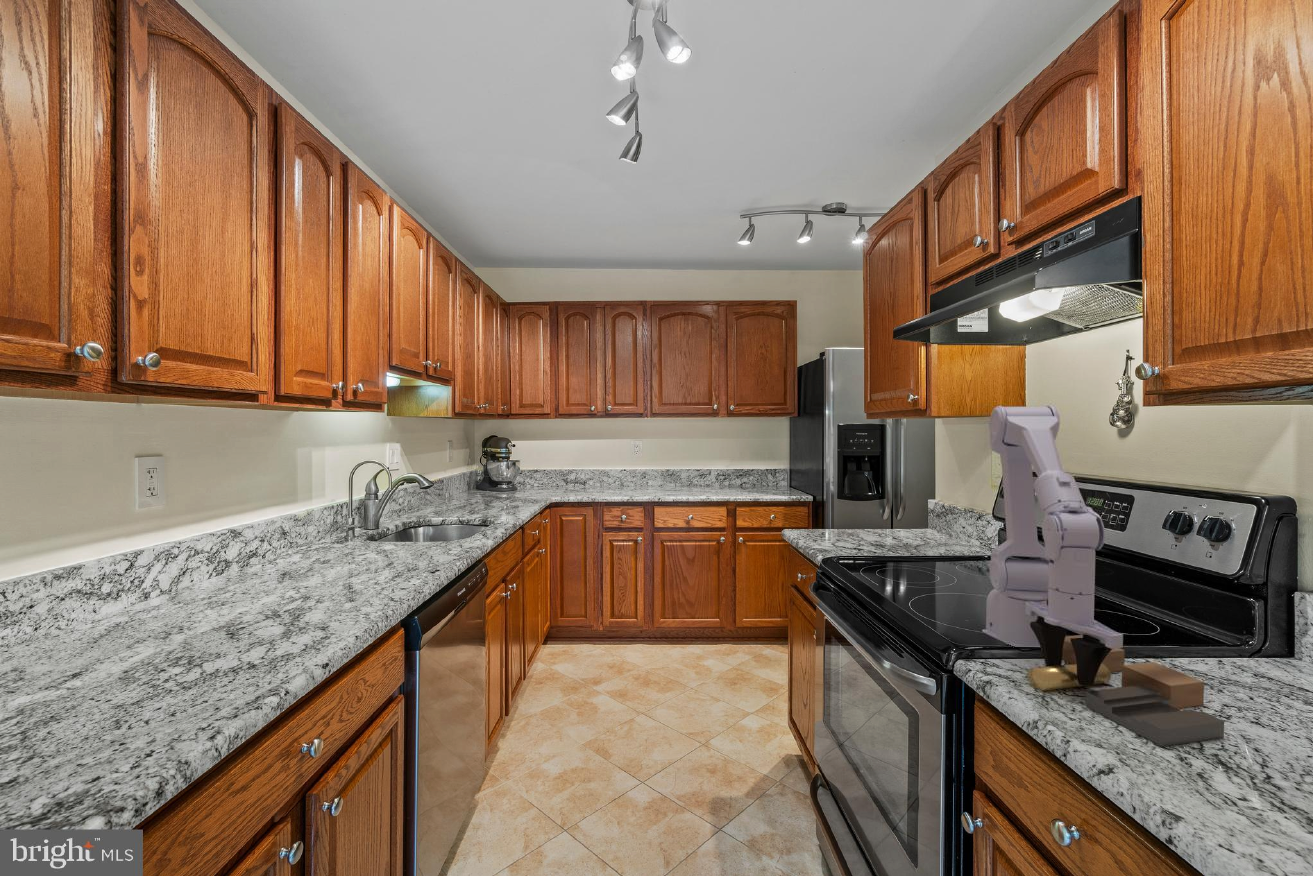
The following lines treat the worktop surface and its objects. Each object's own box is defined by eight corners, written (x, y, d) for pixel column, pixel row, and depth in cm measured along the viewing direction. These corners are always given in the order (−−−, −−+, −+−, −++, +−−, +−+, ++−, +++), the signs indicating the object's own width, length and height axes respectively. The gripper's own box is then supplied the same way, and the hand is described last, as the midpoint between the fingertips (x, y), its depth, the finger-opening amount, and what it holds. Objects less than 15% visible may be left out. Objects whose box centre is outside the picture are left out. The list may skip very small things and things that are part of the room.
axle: (1045, 694, 83) (1045, 673, 83) (1027, 685, 87) (1027, 665, 87) (1110, 687, 86) (1110, 666, 86) (1091, 678, 89) (1090, 658, 89)
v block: (1086, 706, 80) (1086, 691, 79) (1142, 699, 81) (1142, 685, 81) (1161, 746, 70) (1162, 729, 70) (1223, 737, 72) (1224, 721, 72)
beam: (1056, 656, 96) (1056, 637, 96) (1084, 653, 98) (1085, 634, 97) (1170, 709, 79) (1170, 685, 79) (1203, 705, 80) (1204, 682, 80)
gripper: (1010, 577, 92) (1009, 658, 92) (1095, 606, 78) (1092, 701, 78) (1046, 575, 93) (1044, 654, 94) (1135, 603, 79) (1133, 696, 80)
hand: (1069, 675), depth 86 cm, fingers open, 5 cm apart
